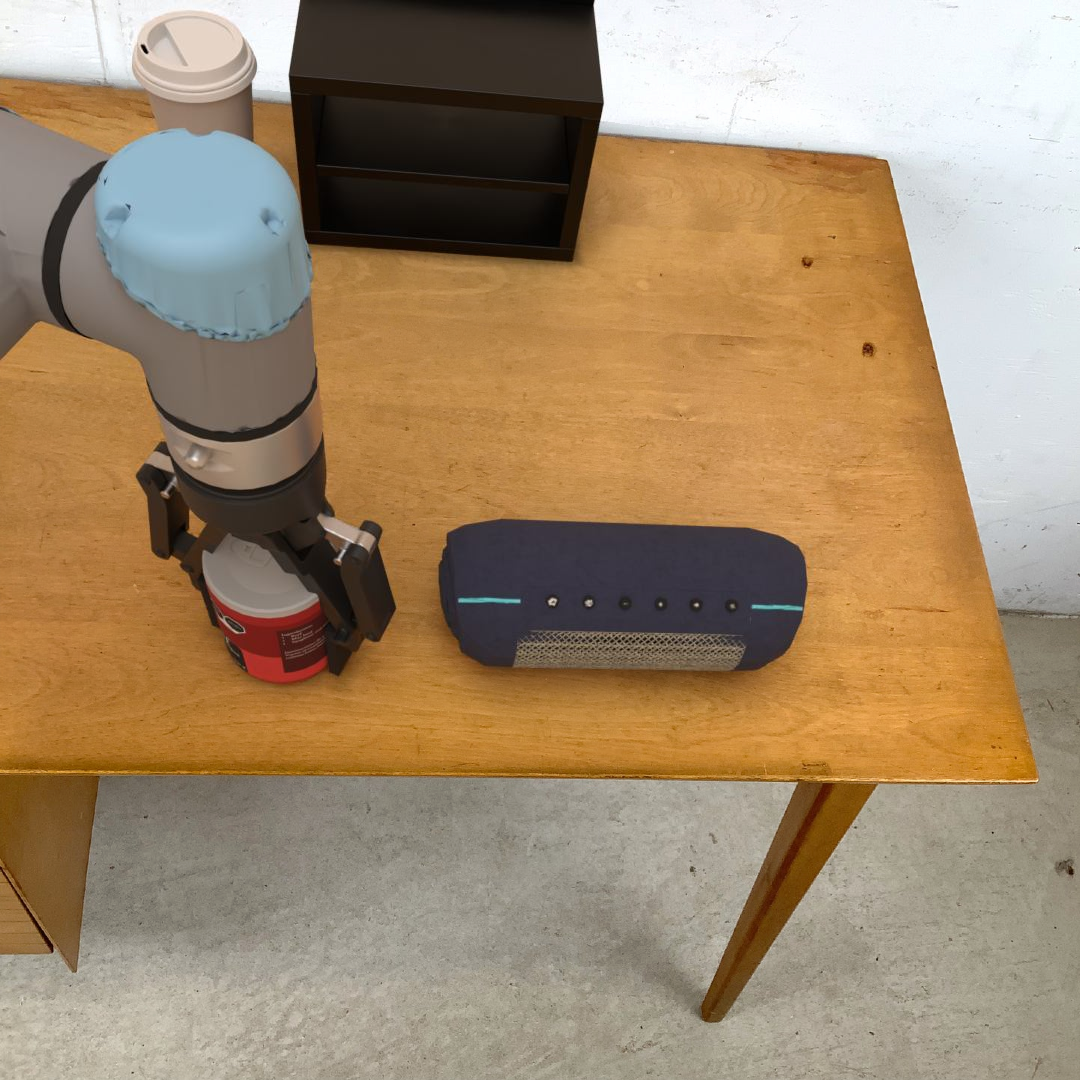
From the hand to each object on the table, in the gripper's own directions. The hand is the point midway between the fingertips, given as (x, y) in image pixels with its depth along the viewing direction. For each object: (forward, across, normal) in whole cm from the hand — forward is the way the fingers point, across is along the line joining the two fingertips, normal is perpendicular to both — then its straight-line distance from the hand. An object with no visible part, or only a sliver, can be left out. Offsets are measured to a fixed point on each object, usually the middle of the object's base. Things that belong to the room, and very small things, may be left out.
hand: (284, 634), depth 69 cm
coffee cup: (+1, -26, +37) cm, 45 cm away
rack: (+1, -8, +46) cm, 47 cm away
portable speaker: (+1, +21, +10) cm, 23 cm away
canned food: (0, 0, 0) cm, 0 cm away
